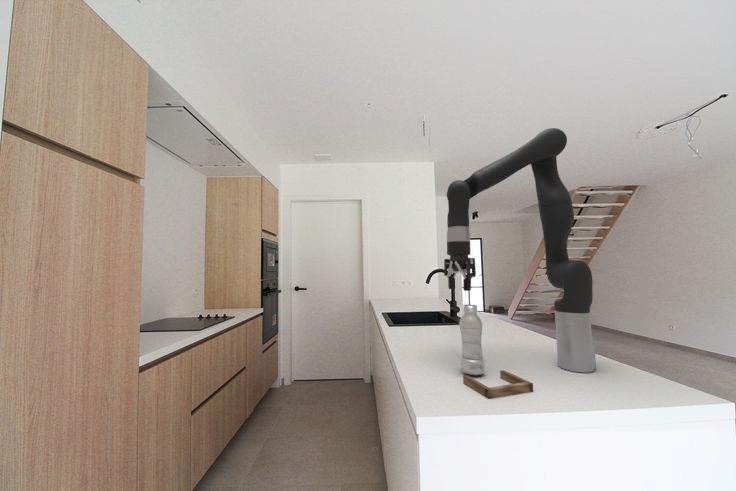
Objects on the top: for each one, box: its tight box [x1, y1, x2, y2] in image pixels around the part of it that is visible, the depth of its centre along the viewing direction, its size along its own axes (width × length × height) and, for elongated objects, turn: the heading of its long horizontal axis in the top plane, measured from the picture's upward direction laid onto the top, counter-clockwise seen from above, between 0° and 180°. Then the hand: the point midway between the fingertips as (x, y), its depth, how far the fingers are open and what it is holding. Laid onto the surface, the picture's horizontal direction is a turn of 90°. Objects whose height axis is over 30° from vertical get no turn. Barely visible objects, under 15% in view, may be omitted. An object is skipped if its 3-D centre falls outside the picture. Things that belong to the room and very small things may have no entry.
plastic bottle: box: [458, 304, 486, 376], centre depth 89 cm, size 6×7×20 cm
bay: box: [462, 370, 534, 399], centre depth 78 cm, size 13×10×2 cm
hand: (459, 289), depth 99 cm, fingers open, 8 cm apart
